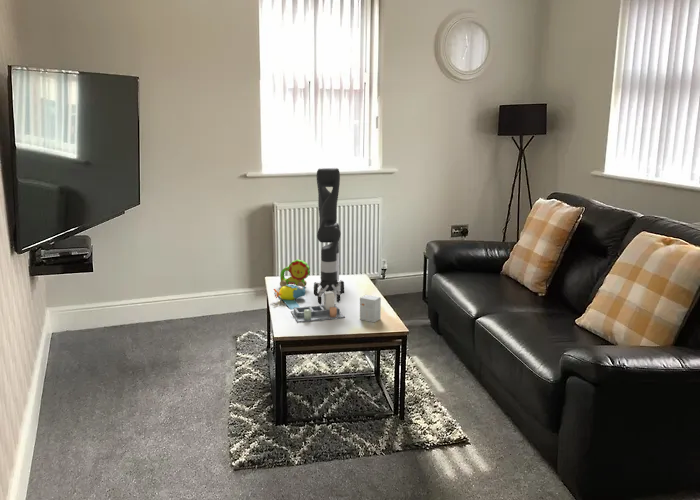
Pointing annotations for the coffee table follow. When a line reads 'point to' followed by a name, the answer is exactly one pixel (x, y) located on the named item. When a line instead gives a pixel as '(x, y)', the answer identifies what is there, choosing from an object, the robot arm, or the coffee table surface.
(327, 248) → the robot arm
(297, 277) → the toy lion
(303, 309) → the grey compartment tray
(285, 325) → the coffee table surface
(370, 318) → the small box
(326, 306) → the plug
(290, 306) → the blue yellow plastic figure
